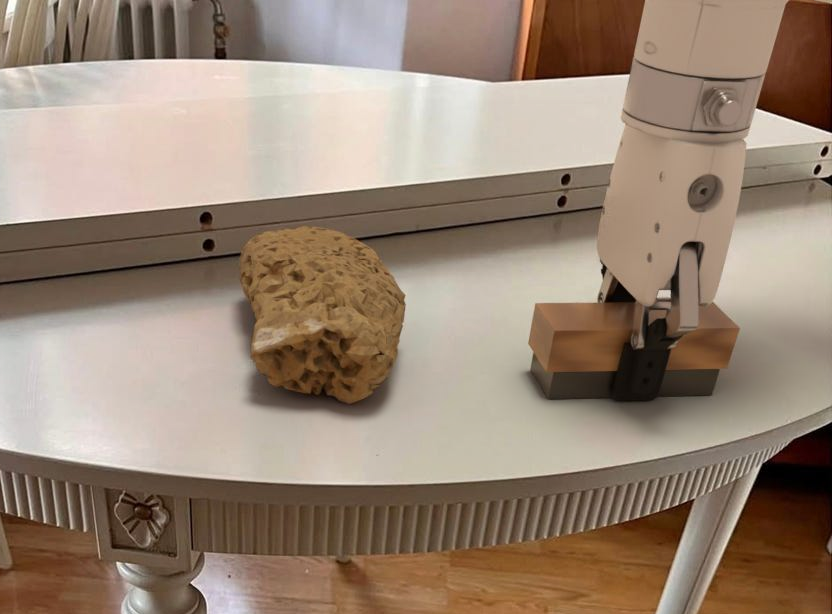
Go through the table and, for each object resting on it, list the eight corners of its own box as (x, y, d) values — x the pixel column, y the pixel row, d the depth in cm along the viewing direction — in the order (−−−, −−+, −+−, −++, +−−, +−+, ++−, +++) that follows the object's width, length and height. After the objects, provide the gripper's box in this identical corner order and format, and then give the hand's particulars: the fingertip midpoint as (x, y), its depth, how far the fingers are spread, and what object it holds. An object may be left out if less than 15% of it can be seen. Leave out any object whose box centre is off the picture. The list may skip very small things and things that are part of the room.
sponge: (403, 429, 66) (420, 260, 79) (389, 330, 60) (409, 164, 73) (214, 439, 69) (259, 273, 81) (182, 345, 63) (236, 181, 75)
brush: (693, 366, 73) (712, 301, 70) (718, 395, 70) (740, 327, 67) (523, 369, 71) (535, 302, 68) (541, 399, 68) (554, 330, 65)
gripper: (820, 141, 53) (721, 440, 65) (691, 67, 66) (628, 328, 78) (688, 139, 52) (611, 443, 64) (583, 64, 65) (535, 329, 77)
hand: (621, 377), depth 71 cm, fingers closed on brush, 4 cm apart
